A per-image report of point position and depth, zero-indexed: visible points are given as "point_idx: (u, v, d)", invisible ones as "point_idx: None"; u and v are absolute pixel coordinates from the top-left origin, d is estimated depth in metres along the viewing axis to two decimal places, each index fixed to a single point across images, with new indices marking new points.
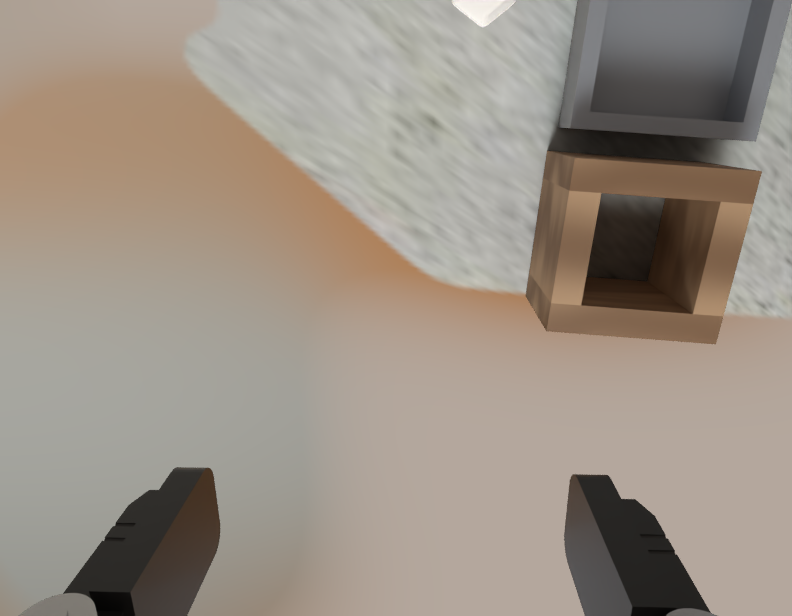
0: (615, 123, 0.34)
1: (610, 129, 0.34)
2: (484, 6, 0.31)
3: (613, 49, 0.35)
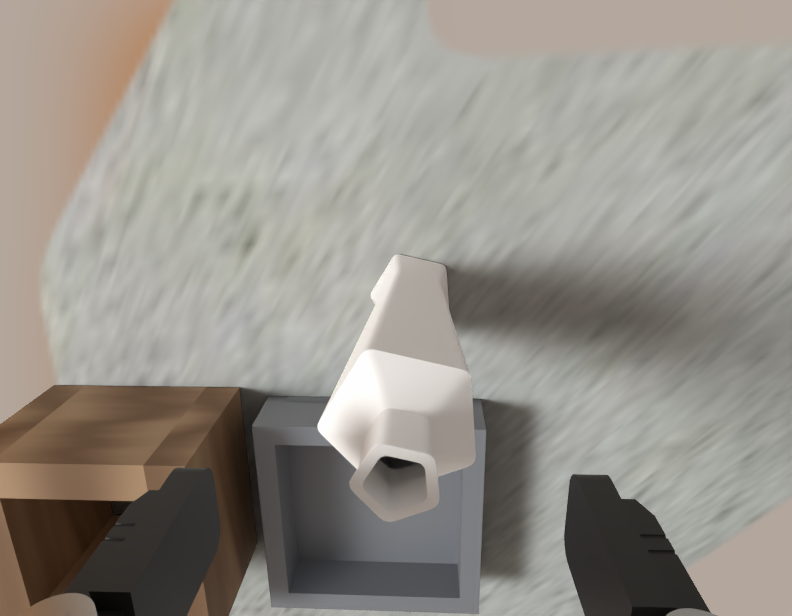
0: (266, 473, 0.28)
1: (258, 469, 0.28)
2: (368, 319, 0.23)
3: None
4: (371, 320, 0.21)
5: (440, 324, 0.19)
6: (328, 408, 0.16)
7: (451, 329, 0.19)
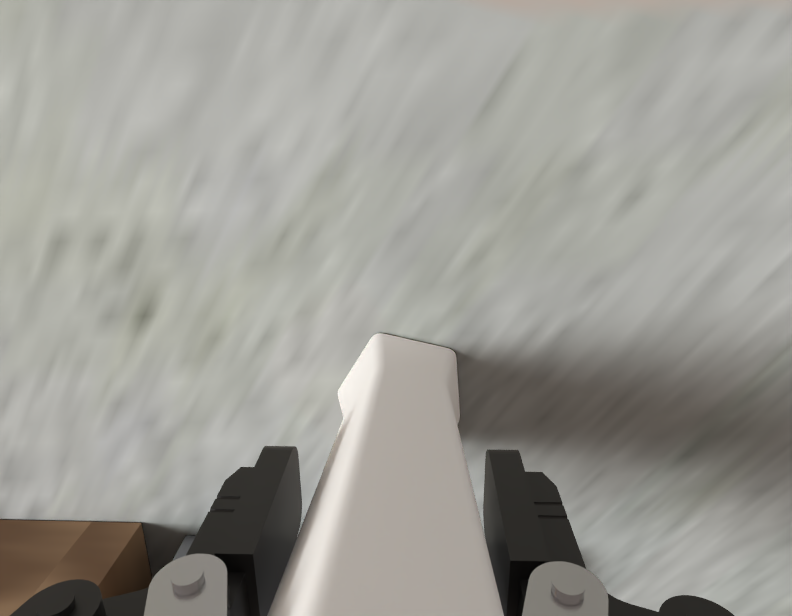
0: None
1: None
2: (325, 469, 0.13)
3: None
4: (321, 506, 0.11)
5: (458, 555, 0.09)
6: None
7: (483, 569, 0.09)
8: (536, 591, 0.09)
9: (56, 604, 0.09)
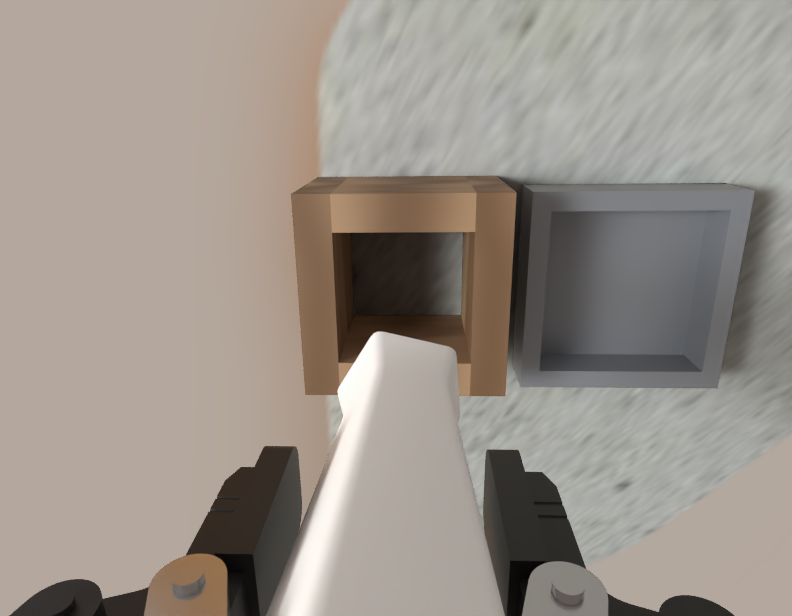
0: (538, 241, 0.30)
1: (531, 238, 0.30)
2: (325, 467, 0.13)
3: (607, 230, 0.32)
4: (321, 504, 0.11)
5: (459, 553, 0.09)
6: None
7: (483, 567, 0.09)
8: (536, 591, 0.09)
9: (56, 604, 0.09)
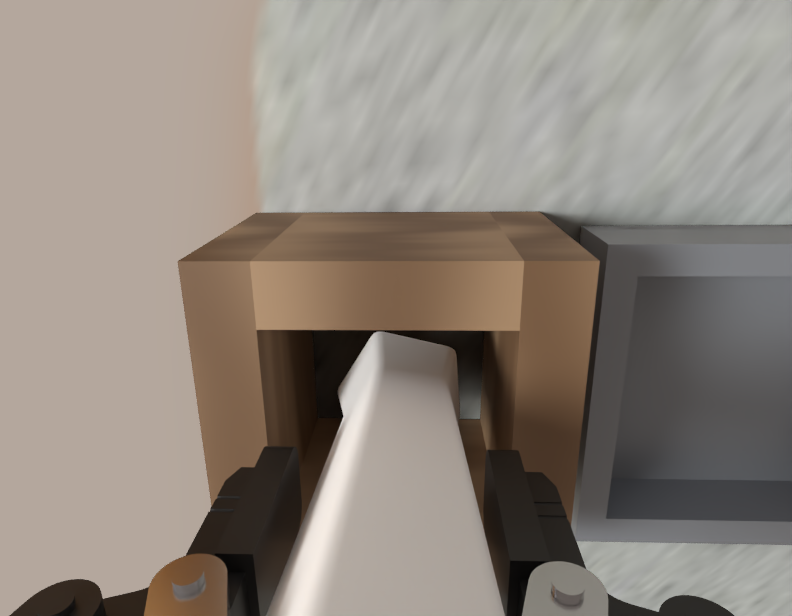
0: (614, 324, 0.18)
1: (602, 318, 0.18)
2: (325, 467, 0.13)
3: (714, 297, 0.20)
4: (321, 504, 0.11)
5: (459, 553, 0.09)
6: None
7: (483, 567, 0.09)
8: (536, 591, 0.09)
9: (56, 604, 0.09)
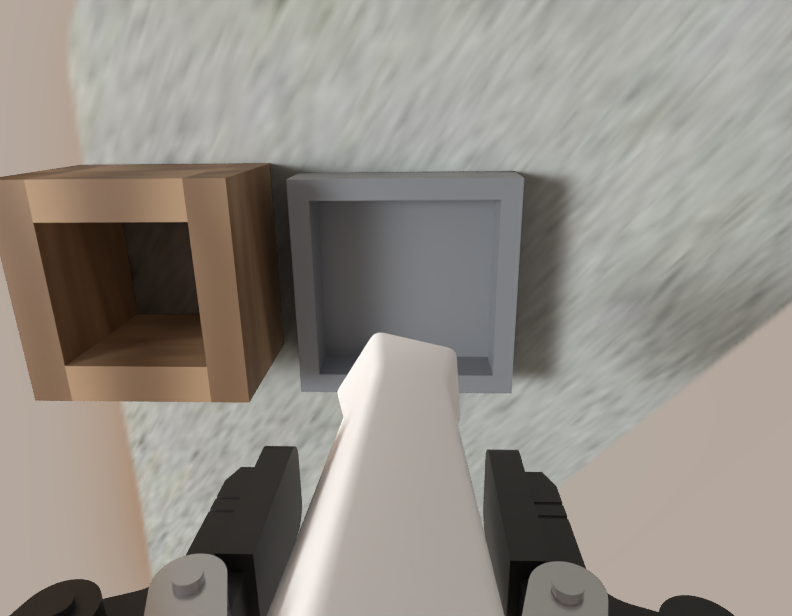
0: (299, 234, 0.27)
1: (291, 230, 0.27)
2: (325, 469, 0.13)
3: (390, 222, 0.29)
4: (321, 506, 0.11)
5: (459, 555, 0.09)
6: None
7: (483, 569, 0.09)
8: (536, 591, 0.09)
9: (56, 604, 0.09)
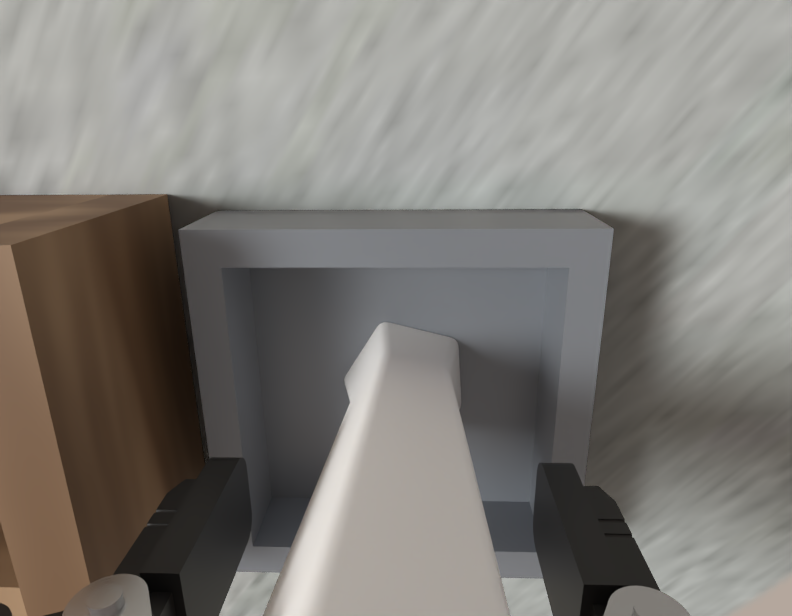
0: (207, 324, 0.15)
1: (193, 317, 0.15)
2: (333, 447, 0.14)
3: (371, 293, 0.17)
4: (331, 476, 0.12)
5: (458, 516, 0.10)
6: None
7: (480, 529, 0.09)
8: None
9: None
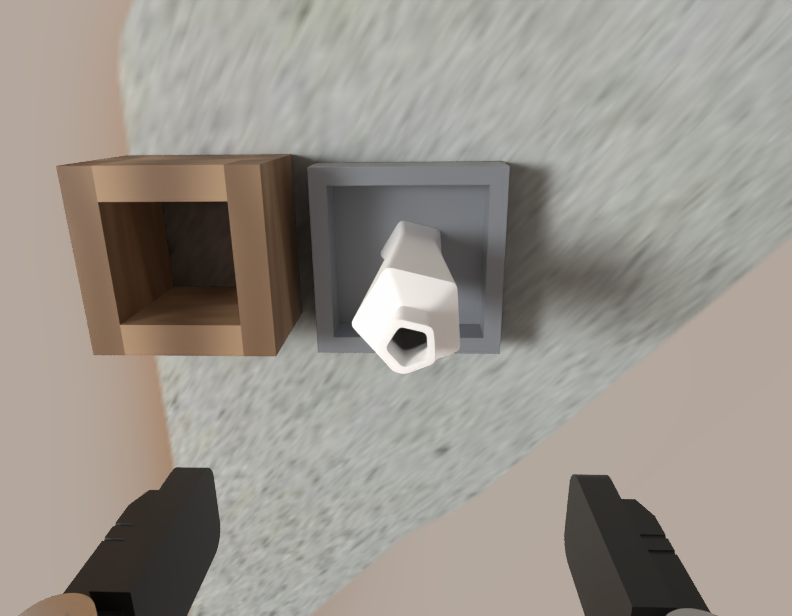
0: (318, 214, 0.32)
1: (311, 211, 0.32)
2: (381, 265, 0.31)
3: (395, 205, 0.34)
4: (385, 262, 0.28)
5: (436, 261, 0.26)
6: (359, 310, 0.23)
7: (444, 264, 0.26)
8: None
9: None
